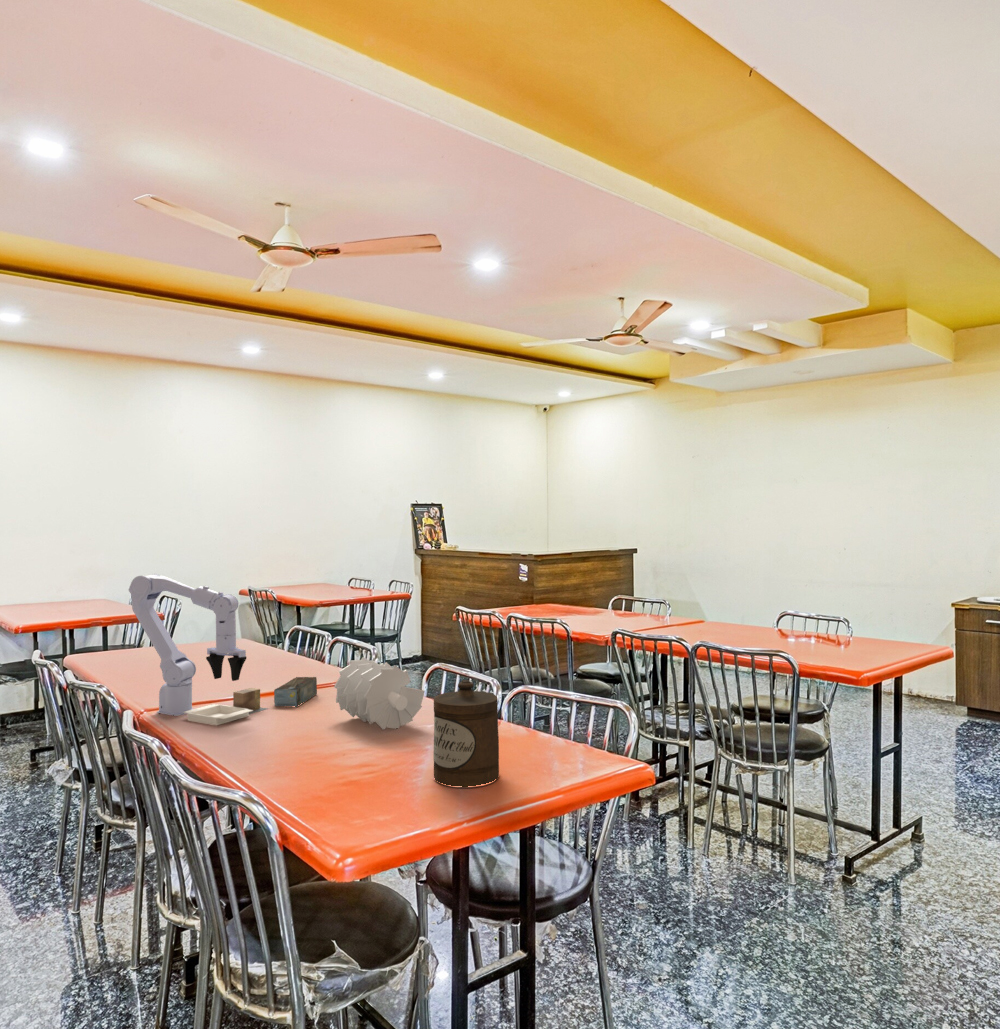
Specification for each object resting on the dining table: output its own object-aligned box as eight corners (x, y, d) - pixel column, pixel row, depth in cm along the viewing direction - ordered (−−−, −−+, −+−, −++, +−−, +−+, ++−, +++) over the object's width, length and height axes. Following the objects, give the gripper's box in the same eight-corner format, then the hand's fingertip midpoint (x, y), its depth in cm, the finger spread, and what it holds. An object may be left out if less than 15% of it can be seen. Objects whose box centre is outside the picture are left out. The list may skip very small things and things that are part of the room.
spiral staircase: (386, 748, 204) (342, 725, 223) (434, 711, 214) (389, 692, 233) (362, 693, 199) (320, 674, 218) (413, 658, 209) (368, 643, 228)
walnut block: (242, 713, 225) (242, 693, 226) (233, 711, 227) (233, 692, 227) (260, 708, 232) (260, 689, 232) (250, 707, 234) (250, 687, 234)
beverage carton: (272, 708, 235) (272, 687, 235) (295, 694, 254) (295, 675, 254) (297, 708, 234) (297, 687, 234) (317, 695, 253) (318, 675, 253)
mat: (225, 712, 228) (225, 711, 228) (247, 706, 236) (247, 705, 236) (246, 716, 223) (246, 715, 223) (268, 709, 231) (268, 708, 231)
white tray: (181, 720, 218) (181, 712, 218) (214, 711, 229) (214, 703, 229) (222, 727, 211) (222, 719, 211) (254, 718, 221) (254, 709, 221)
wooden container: (420, 777, 169) (420, 680, 169) (468, 763, 179) (468, 671, 179) (463, 794, 158) (463, 690, 158) (512, 777, 168) (512, 680, 169)
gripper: (253, 634, 228) (253, 678, 227) (219, 631, 234) (220, 675, 234) (235, 637, 221) (235, 683, 221) (201, 635, 228) (201, 679, 228)
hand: (226, 679), depth 227 cm, fingers open, 7 cm apart
